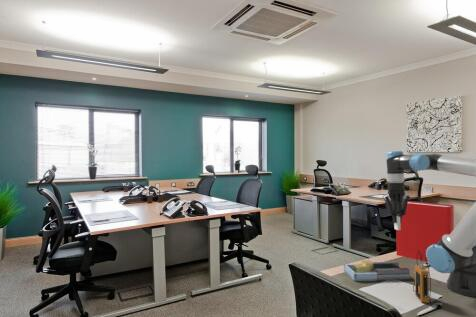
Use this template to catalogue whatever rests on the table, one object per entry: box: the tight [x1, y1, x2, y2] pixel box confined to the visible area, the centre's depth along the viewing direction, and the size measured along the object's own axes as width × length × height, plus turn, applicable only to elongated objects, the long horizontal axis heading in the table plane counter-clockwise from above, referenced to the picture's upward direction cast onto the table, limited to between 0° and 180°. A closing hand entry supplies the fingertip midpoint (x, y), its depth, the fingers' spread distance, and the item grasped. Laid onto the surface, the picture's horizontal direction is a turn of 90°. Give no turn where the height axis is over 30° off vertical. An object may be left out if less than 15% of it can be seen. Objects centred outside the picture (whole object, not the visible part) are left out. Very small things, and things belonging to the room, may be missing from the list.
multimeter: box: [412, 250, 447, 309], centre depth 127 cm, size 15×10×20 cm
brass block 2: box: [361, 259, 374, 273], centre depth 153 cm, size 4×4×4 cm
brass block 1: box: [353, 263, 366, 273], centre depth 153 cm, size 4×4×4 cm
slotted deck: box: [369, 261, 411, 281], centre depth 154 cm, size 12×16×4 cm
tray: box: [343, 263, 378, 282], centre depth 153 cm, size 13×11×4 cm
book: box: [395, 200, 455, 263], centre depth 176 cm, size 27×8×32 cm, turn 42°
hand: (397, 229), depth 153 cm, fingers closed
